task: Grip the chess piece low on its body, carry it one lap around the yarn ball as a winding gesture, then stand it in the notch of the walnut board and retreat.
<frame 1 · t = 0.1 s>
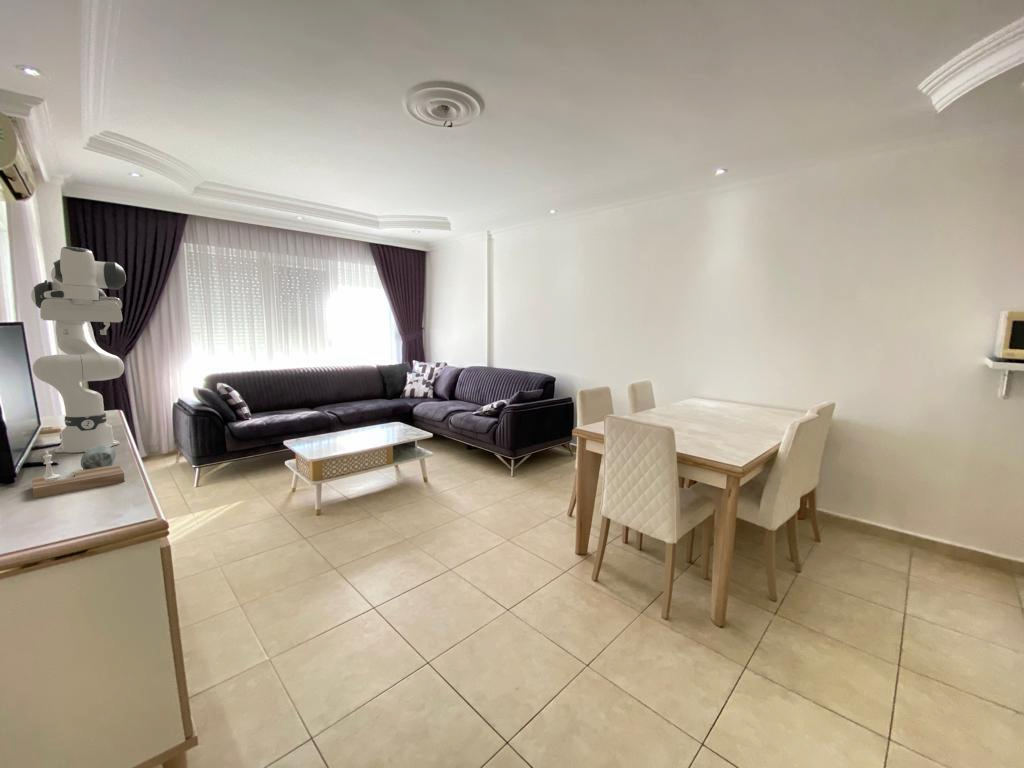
hand: (85, 334, 148), 48 cm above the table, fingers open, 8 cm apart
chess piece: (50, 479, 140), on the table
yarn ball: (99, 470, 150), on the table
notch board: (80, 484, 136), on the table
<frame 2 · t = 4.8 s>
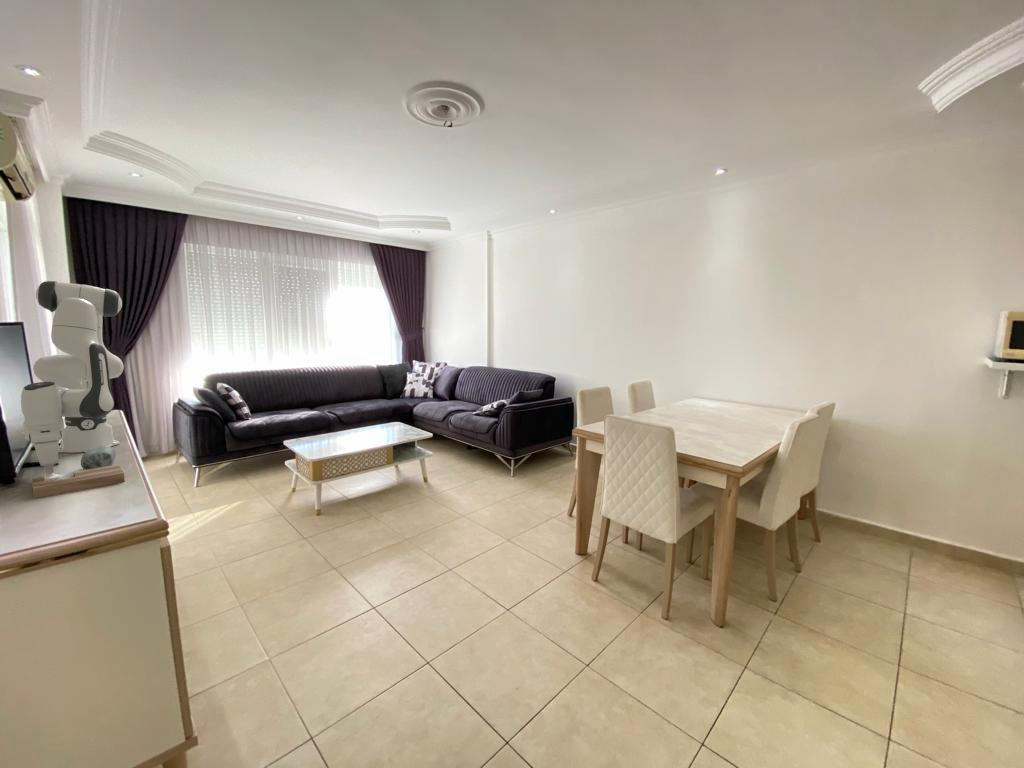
hand: (49, 472, 139), 2 cm above the table, fingers closed on chess piece
chess piece: (50, 479, 140), on the table, touching gripper
everything else where it was.
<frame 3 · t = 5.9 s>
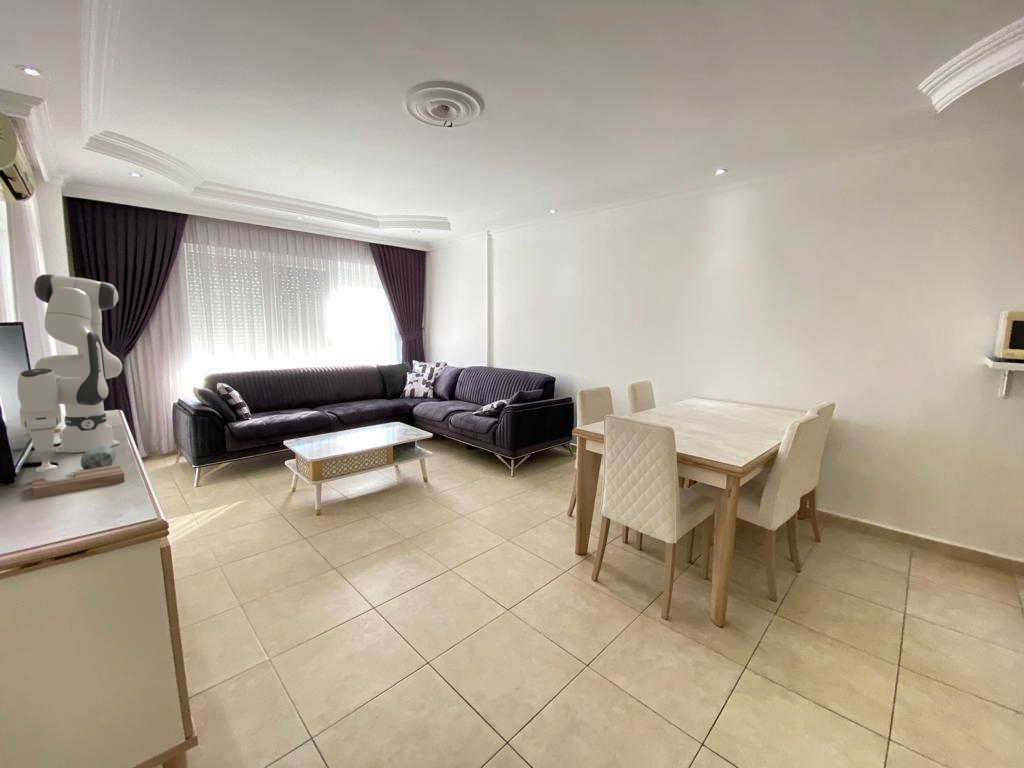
hand: (45, 459, 139), 7 cm above the table, fingers closed on chess piece
chess piece: (46, 470, 139), point 3 cm above the table, touching gripper
everything else where it was.
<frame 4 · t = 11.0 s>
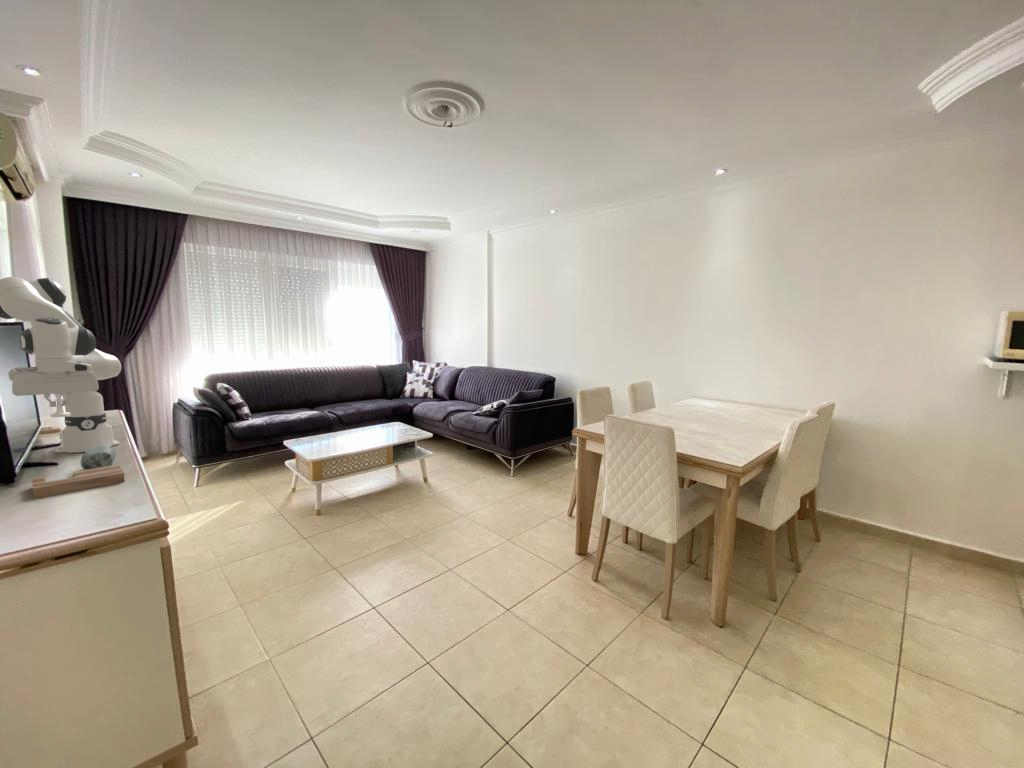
hand: (59, 406, 145), 23 cm above the table, fingers closed on chess piece
chess piece: (60, 416, 145), point 19 cm above the table, touching gripper
everything else where it was.
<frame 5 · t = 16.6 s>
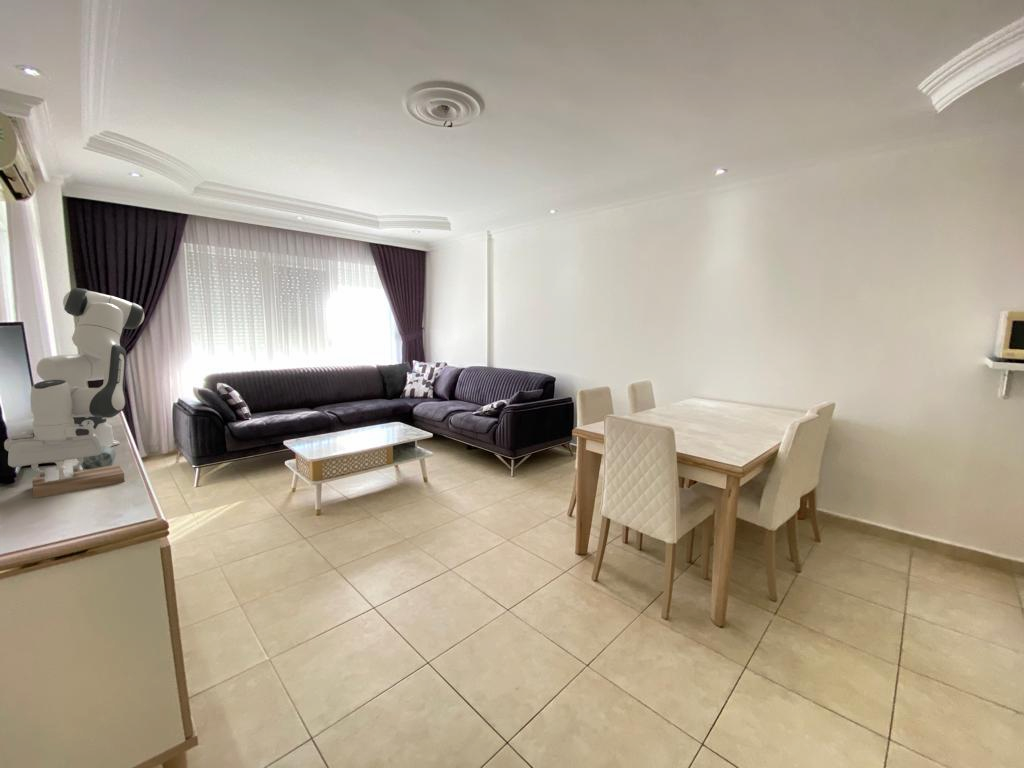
hand: (59, 474, 134), 4 cm above the table, fingers open, 6 cm apart
chess piece: (63, 485, 135), resting in notch board
everything else where it was.
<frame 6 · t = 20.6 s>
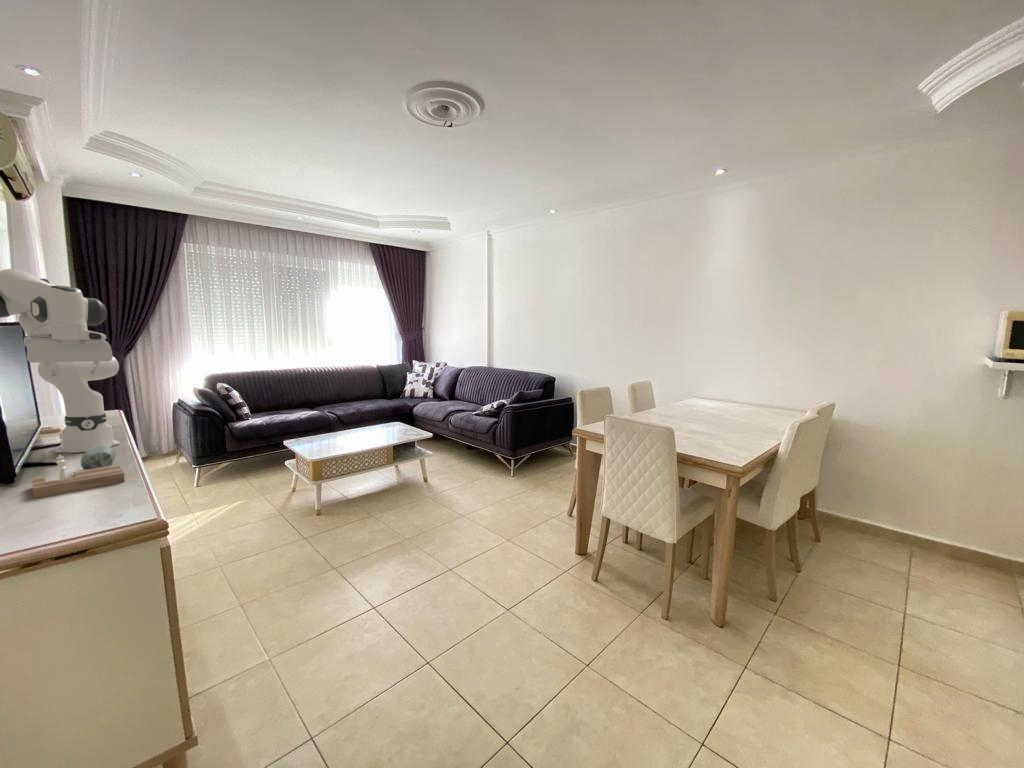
hand: (73, 374, 144), 34 cm above the table, fingers open, 8 cm apart
nothing on the table moved.
at the end: chess piece 0.7 cm from the target spot, resting in notch board; chess piece tilted 1°; the gripper is holding nothing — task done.
